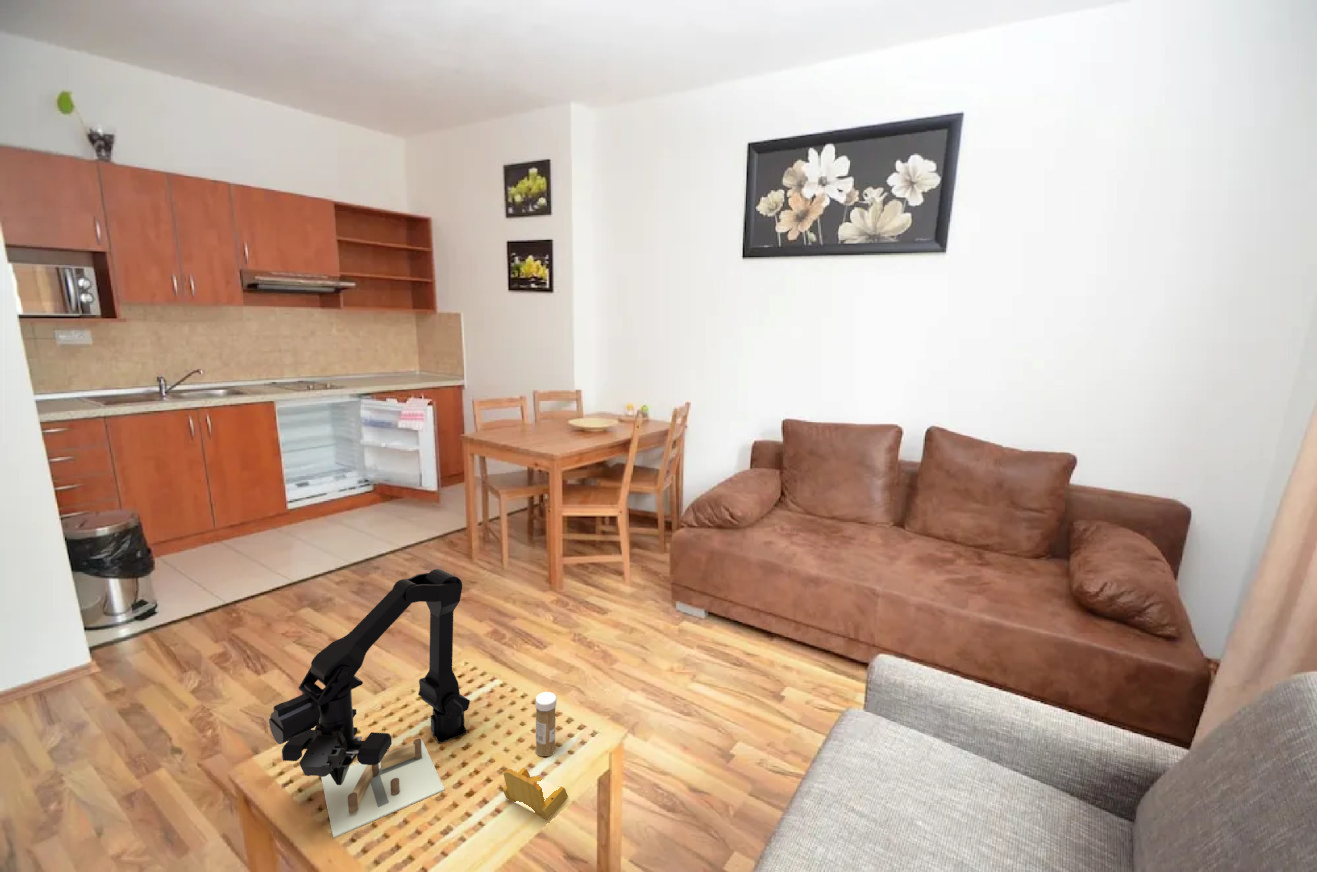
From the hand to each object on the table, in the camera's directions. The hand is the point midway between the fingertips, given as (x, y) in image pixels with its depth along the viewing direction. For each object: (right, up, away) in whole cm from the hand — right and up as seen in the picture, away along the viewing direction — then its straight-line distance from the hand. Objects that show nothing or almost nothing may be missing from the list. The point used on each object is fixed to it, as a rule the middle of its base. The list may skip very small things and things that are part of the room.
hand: (340, 783), depth 113 cm
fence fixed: (+9, -3, +6) cm, 11 cm away
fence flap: (+4, -2, 0) cm, 5 cm away
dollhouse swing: (+38, -5, +2) cm, 39 cm away
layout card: (+6, -3, +4) cm, 8 cm away
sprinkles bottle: (+38, -2, +16) cm, 41 cm away
